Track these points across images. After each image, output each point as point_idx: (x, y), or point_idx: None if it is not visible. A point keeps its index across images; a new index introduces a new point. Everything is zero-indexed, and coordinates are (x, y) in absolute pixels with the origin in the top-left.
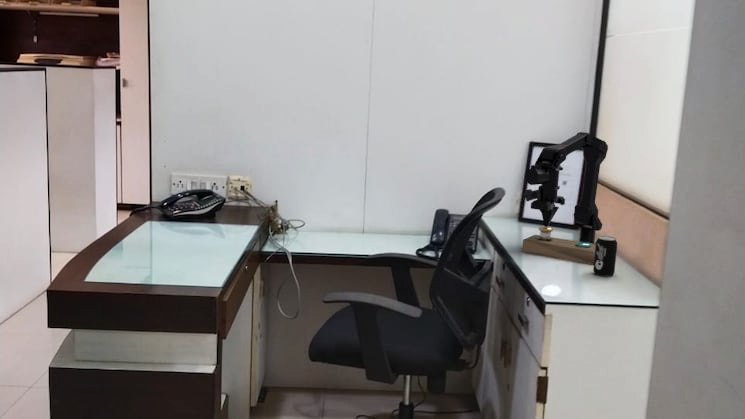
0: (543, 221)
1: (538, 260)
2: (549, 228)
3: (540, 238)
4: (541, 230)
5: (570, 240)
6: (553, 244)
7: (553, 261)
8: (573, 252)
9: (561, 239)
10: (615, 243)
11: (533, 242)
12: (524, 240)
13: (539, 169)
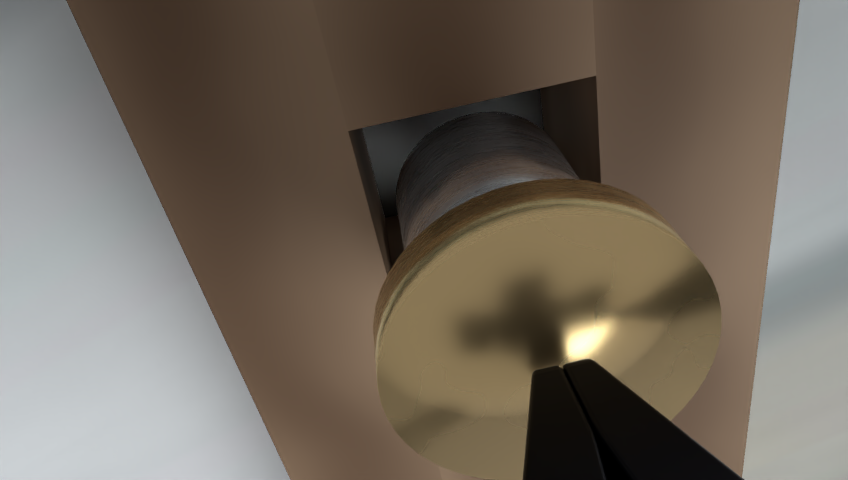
0: (527, 466)
1: (5, 324)
2: (507, 450)
3: (414, 184)
4: (374, 327)
5: (735, 405)
6: (301, 434)
7: (149, 415)
8: None
9: None
10: None
11: (159, 183)
12: (73, 2)
13: None
